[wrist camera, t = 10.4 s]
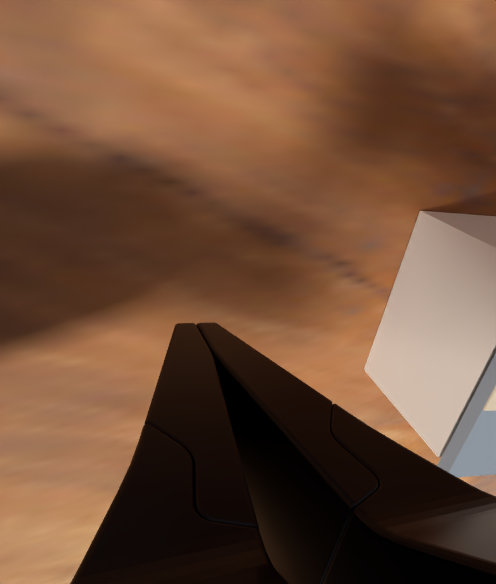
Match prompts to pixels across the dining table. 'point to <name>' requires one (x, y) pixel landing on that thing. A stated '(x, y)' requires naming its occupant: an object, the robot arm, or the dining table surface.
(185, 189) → the dining table surface
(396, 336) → the storage box
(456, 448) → the lid
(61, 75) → the dining table surface
